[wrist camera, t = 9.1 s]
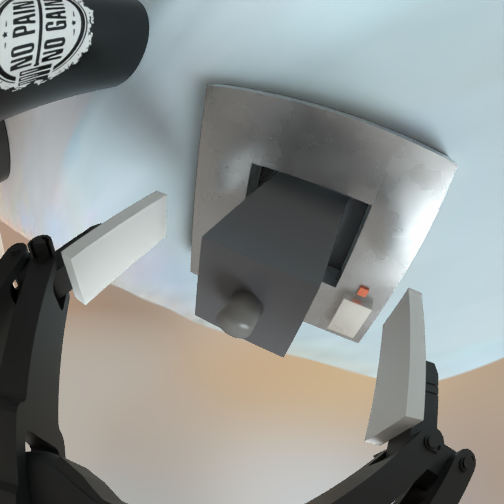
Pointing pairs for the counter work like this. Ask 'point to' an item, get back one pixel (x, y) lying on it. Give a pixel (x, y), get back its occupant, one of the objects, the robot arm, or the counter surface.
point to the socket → (327, 175)
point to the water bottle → (66, 49)
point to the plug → (268, 260)
